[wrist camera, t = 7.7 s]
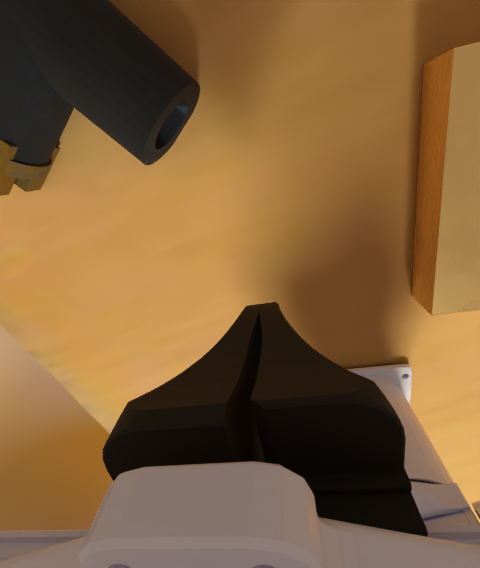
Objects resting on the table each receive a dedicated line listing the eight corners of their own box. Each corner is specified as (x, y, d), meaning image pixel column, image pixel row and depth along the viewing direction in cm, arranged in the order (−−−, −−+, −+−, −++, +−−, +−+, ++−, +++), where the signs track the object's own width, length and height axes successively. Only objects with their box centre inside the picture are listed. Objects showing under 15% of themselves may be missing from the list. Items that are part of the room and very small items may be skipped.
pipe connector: (72, 262, 16) (-220, 62, 13) (115, 238, 21) (-92, 87, 18) (185, 69, 12) (-194, -281, 9) (207, 93, 17) (-39, -132, 14)
